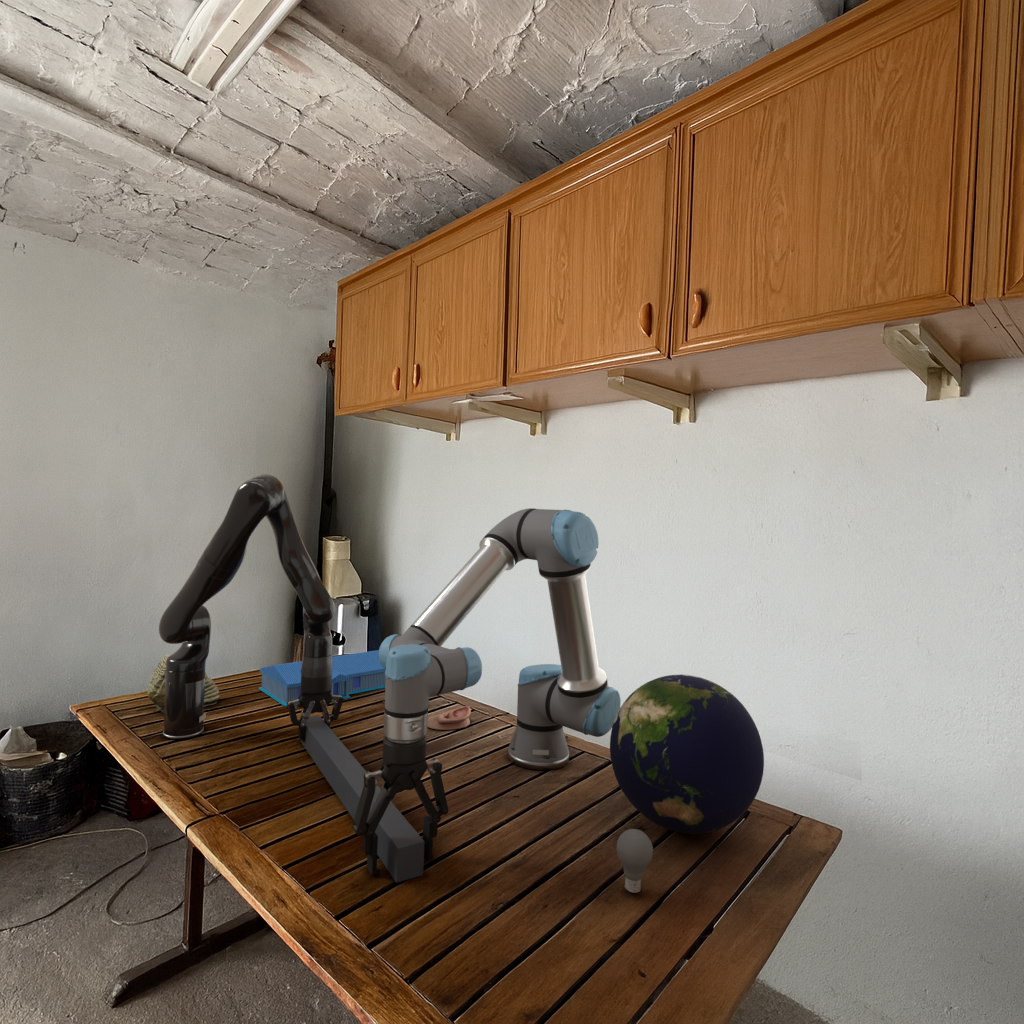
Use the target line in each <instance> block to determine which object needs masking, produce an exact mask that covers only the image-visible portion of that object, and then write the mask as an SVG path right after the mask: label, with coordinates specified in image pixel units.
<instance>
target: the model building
mask: <svg viewBox="0 0 1024 1024" xmlns="http://www.w3.org/2000/svg"><path fill="white" fill-rule="evenodd" d="M301 665H302V660H300V661H293V662H287V663H278V664H272V665H268V666H264V667H263V666H262V667H260V668H259V672H260V673H261V686H260V687H258V690H260V691H261V692H262V693H264V694H265V695H267V696H268V697H270V698H271V699H273V700H274V701H276V702H277V703H279V704H280V705H282V706H283V707H288V705H287V702H288V701H289V700H291V701H294V700H297V699H298V698H299V696H300V690H301ZM385 671H386V669H385V668H384V667H383V666H382V665H381V663H380V661H379V649H376V650H368V651H363V652H356V653H349V654H342V655H341V654H340V655H335V656H332V687H331V692H332V694H333V695H341V696H342V698H343V700H346V699H347V700H348V699H350V698H351V695H353V694H359V693H364V692H365V693H366V692H369V691H373V690H381V689H385V677H386V676H385ZM331 702H333V699H332V700H331ZM298 705H301V704H300V703H299V704H298Z"/></svg>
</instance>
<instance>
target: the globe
mask: <svg viewBox="0 0 1024 1024" xmlns="http://www.w3.org/2000/svg"><path fill="white" fill-rule="evenodd" d="M621 704H622V705H620V709H619V711H618V713H617V715H616V717H615V720H614V722H613V726H612V728H611V730H610V731H611V732H610V736H609V737H610V739H609V755H610V762H611V766H612V770H613V774H614V777H615V780H616V783H617V784H618V786H619V788H620V790H621V791H622V794H623V795H624V796H625V797H626V799H627V800H628V802H629V803H630V804H631V805H632V806H633V807H634V809H636V811H638V812H639V813H640V814H641V815H642V816H643V817H645V819H648V820H649V821H651V822H652V823H654V824H655V825H658V826H660V827H661V828H664V829H666V830H669V831H673V832H675V833H680V834H689V835H699V834H700V835H701V834H707V833H712V832H716V831H719V830H721V829H723V828H725V827H728V826H729V825H732V823H734V822H736V821H737V820H738V819H739V818H741V816H743V815H744V814H745V812H746V811H747V810H748V809H749V808H750V806H752V804H753V803H754V801H755V800H756V796H757V795H758V794H759V790H760V788H761V785H762V781H763V776H764V770H765V769H764V768H765V754H764V747H763V743H762V738H761V735H760V731H759V730H758V727H757V725H756V722H755V721H754V719H753V718H752V715H751V714H750V713H749V711H748V710H747V708H746V707H745V706H744V704H743V703H742V702H741V701H740V700H739V698H737V697H736V696H735V695H734V694H732V692H730V691H729V690H728V689H726V688H724V687H723V686H722V685H720V684H718V683H716V682H713V681H711V680H709V679H707V678H703V677H700V676H697V675H693V674H684V673H683V674H682V673H681V674H671V675H670V674H669V675H664V676H660V677H657V678H654V679H652V680H649V681H647V682H645V683H643V684H642V685H641V686H639V687H638V688H636V689H635V690H634V691H632V692H631V693H630V695H628V697H626V699H625V700H624V701H623V703H621Z"/></svg>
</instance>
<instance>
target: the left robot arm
mask: <svg viewBox="0 0 1024 1024" xmlns="http://www.w3.org/2000/svg"><path fill="white" fill-rule="evenodd" d="M292 511H293V510H292V509H291V504H290V502H289V498H288V496H287V492H286V490H285V487H284V485H283V483H282V482H281V481H280V479H278V477H276V476H274V475H272V474H267V473H265V474H259V475H256V476H254V477H252V478H250V479H248V480H245V481H244V482H243V483H241V484H240V485H239V486H238V488H237V489H236V490H235V492H234V495H233V498H232V500H231V502H230V504H229V507H228V509H227V511H226V514H225V515H224V518H223V520H222V522H221V523H220V525H219V527H218V528H217V530H216V531H215V532H214V533H213V535H212V537H211V539H210V541H209V542H208V544H207V546H205V548H204V550H203V552H202V554H201V555H200V557H199V559H198V560H197V562H196V563H195V566H194V568H193V569H192V571H191V573H190V575H188V578H187V579H186V581H185V582H184V584H183V586H182V587H181V589H180V590H179V592H178V593H177V594H176V596H175V597H174V598H173V599H172V601H171V602H170V603H169V604H168V606H167V607H166V609H165V610H164V611H163V613H162V615H161V618H160V619H159V623H158V634H159V637H160V638H161V640H162V641H163V642H165V643H166V644H170V645H179V644H181V645H180V647H179V648H178V649H177V650H176V651H174V652H173V653H172V654H169V655H170V656H169V657H168V658H167V660H166V674H165V705H164V709H163V708H162V709H161V711H160V712H161V713H162V714H163V731H162V737H164V738H166V739H169V740H185V739H190V738H191V739H192V738H194V737H197V736H199V735H202V734H203V732H204V730H205V729H204V722H205V721H204V720H205V719H206V718H207V712H205V706H204V693H205V672H206V664H207V663H206V662H207V659H208V656H209V653H210V643H211V633H212V617H211V614H210V612H209V610H208V608H207V607H206V606H205V603H207V602H209V601H210V599H212V598H214V596H216V595H217V594H219V593H220V592H221V591H222V590H223V589H225V588H226V587H227V586H229V584H230V583H231V582H232V580H233V579H234V578H235V576H236V575H237V573H238V571H239V570H240V568H241V567H242V564H243V563H244V560H245V557H246V554H247V548H248V543H249V540H250V539H251V536H252V535H253V533H254V531H256V529H257V527H258V526H259V524H260V523H261V522H262V520H263V519H265V518H266V519H267V521H268V522H269V525H270V527H271V529H272V532H273V537H274V540H275V545H276V551H277V557H278V560H279V563H280V566H281V568H282V571H283V573H284V575H285V576H286V579H287V581H288V582H289V584H290V586H291V587H292V589H293V590H294V592H295V593H296V594H297V596H298V599H299V601H300V602H301V603H300V604H301V605H302V618H303V619H302V622H303V641H302V642H303V645H302V648H303V649H302V658H301V661H302V665H301V690H300V696H299V698H298V699H297V700H294V701H291V700H289V701H288V702H287V705H288V706H287V709H288V713H289V718H290V722H291V723H292V725H293V726H294V727H298V730H297V733H298V734H297V736H298V739H299V741H300V740H301V741H302V742H304V741H305V738H306V727H305V725H306V722H307V720H308V719H309V717H310V716H311V715H312V714H316V713H320V714H321V715H322V719H323V720H324V722H325V723H326V724H327V725H328V726H329V728H330V729H331V723H332V722H333V721H338V719H339V717H340V713H341V709H342V705H343V703H344V702H343V701H344V699H343V698H342V696H341V695H333V694H332V692H331V687H332V657H333V635H332V633H331V620H332V619H333V618H334V616H335V614H336V604H335V602H334V600H333V598H332V596H331V594H330V593H329V591H328V590H327V588H326V586H325V585H324V583H323V582H322V579H321V577H320V575H319V572H318V570H317V568H316V565H315V564H314V562H313V560H312V558H311V556H310V554H309V553H308V550H307V548H306V546H305V544H304V542H303V539H302V537H301V535H300V531H299V529H298V526H297V523H296V520H295V518H294V513H293V512H292ZM332 699H333V701H331V700H332ZM331 702H332V704H333V706H332V710H331V713H330V712H329V709H328V707H329V705H330V704H331ZM299 703H300V704H299ZM299 705H300V706H301V707H302V709H301V713H300V717H299V719H298V715H297V711H296V710H298V706H299ZM301 741H300V742H301Z"/></svg>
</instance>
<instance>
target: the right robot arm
mask: <svg viewBox="0 0 1024 1024" xmlns="http://www.w3.org/2000/svg"><path fill="white" fill-rule="evenodd" d="M478 546H479V549H478V550H477V551H476V552H475V553H473V555H472V556H471V558H470V559H468V561H467V562H466V563H465V564H464V565H463V567H462V568H461V569H460V570H459V571H458V572H457V573H456V574H455V575H454V576H453V578H451V580H450V581H449V582H448V583H447V584H446V585H445V587H444V588H443V589H442V590H441V591H440V592H439V593H438V594H437V595H436V597H435V598H434V599H433V600H432V601H431V603H429V604H428V605H427V607H426V608H425V609H424V610H423V611H422V612H421V613H420V614H419V616H418V617H417V618H416V619H415V620H414V621H413V622H412V624H411V625H410V626H409V627H408V628H407V629H406V630H405V631H404V632H403V633H399V634H398V633H393V634H391V635H388V636H387V637H385V638H384V640H383V641H382V642H381V644H380V646H379V649H378V650H379V661H380V663H381V665H382V666H383V667H384V668H385V669H386V671H385V676H386V677H385V688H384V711H383V712H384V713H383V714H384V715H383V716H384V717H383V736H384V737H383V739H382V763H381V766H380V768H379V770H375V771H372V772H371V771H370V770H365V771H366V772H365V773H364V787H363V790H362V794H361V797H360V801H359V804H358V808H357V811H356V815H355V818H354V819H353V821H352V825H351V827H352V830H353V832H354V834H356V836H357V837H361V836H362V847H361V849H362V851H363V852H364V854H365V856H366V868H367V870H368V871H369V873H370V875H371V876H375V875H377V870H378V855H377V848H378V836H377V834H376V833H375V830H376V828H377V826H378V824H379V822H380V821H381V819H382V817H383V815H384V813H385V811H386V809H387V807H388V805H389V803H390V801H391V802H392V800H393V799H394V798H395V797H396V794H398V793H402V792H404V791H412V790H415V792H416V794H417V796H418V798H419V800H420V802H421V804H422V805H423V808H424V809H425V811H426V813H427V815H425V816H423V817H422V818H423V821H422V839H423V840H424V857H425V858H426V859H427V860H428V861H429V860H432V859H433V844H434V838H436V837H437V836H438V830H439V829H438V827H439V826H438V825H439V823H440V822H441V821H442V817H441V816H446V815H448V813H449V807H448V802H447V801H448V800H447V797H446V791H445V787H444V782H443V778H442V773H443V764H442V762H440V761H439V760H438V759H437V758H436V757H432V758H431V759H430V760H427V759H426V757H427V745H428V744H427V743H428V739H427V736H426V735H428V734H427V733H428V727H427V721H428V718H429V717H428V716H429V703H430V702H429V701H430V698H434V697H437V696H441V695H445V694H448V693H449V694H451V693H453V692H458V691H464V690H465V689H467V688H471V687H473V686H475V685H477V684H478V683H479V681H481V678H482V674H483V664H482V660H481V657H480V655H479V653H478V652H477V651H476V650H475V649H474V648H472V647H469V646H464V647H461V646H457V647H456V648H447V647H444V646H443V645H444V643H445V642H446V641H447V640H448V639H449V638H450V637H451V635H452V634H453V633H454V632H455V631H456V629H457V628H458V627H459V626H460V625H461V624H462V622H463V621H464V620H465V619H466V618H467V616H468V615H469V614H470V612H472V610H473V609H474V608H475V607H476V605H477V604H479V602H480V601H481V600H482V598H483V597H484V596H485V595H486V594H487V592H488V591H489V590H490V589H491V588H492V587H493V586H494V584H495V583H496V581H498V579H499V578H500V577H501V576H502V575H503V573H504V572H505V571H510V570H513V568H515V566H516V565H517V564H518V563H519V562H521V561H524V560H532V561H536V562H537V568H538V573H539V575H540V576H541V578H544V579H545V580H547V586H548V592H549V593H548V594H549V599H550V606H551V611H552V618H553V624H554V629H555V630H554V631H555V636H556V642H557V643H556V644H557V649H558V655H559V661H560V664H557V663H556V664H555V663H554V664H553V663H542V664H541V663H539V664H532V665H528V666H525V667H523V668H522V669H521V670H520V671H519V674H518V683H517V702H516V703H517V707H516V726H515V729H514V731H513V734H512V737H511V740H510V743H509V745H508V750H507V758H508V760H509V761H510V762H511V763H512V764H514V765H516V766H518V767H521V768H525V769H529V770H536V771H549V770H555V769H560V768H562V767H565V766H566V765H567V764H568V763H569V761H570V750H569V746H568V743H567V739H569V737H568V735H565V732H564V728H567V729H570V730H573V731H575V732H578V733H581V734H582V735H585V736H588V735H589V736H592V737H596V738H600V737H603V736H605V735H607V734H608V733H609V732H610V731H612V726H613V722H614V720H615V717H616V715H617V713H618V711H619V709H620V707H621V704H622V701H621V700H622V699H621V695H620V692H619V691H618V690H617V689H616V688H615V687H612V686H609V684H608V677H607V673H606V671H605V670H604V669H603V668H601V667H599V666H600V665H599V659H598V653H597V646H596V640H595V639H596V638H595V633H594V624H593V618H592V612H591V605H590V598H589V591H588V590H589V589H588V584H587V578H586V576H587V575H586V574H587V573H588V572H589V571H590V569H591V567H592V562H593V561H595V559H596V557H597V555H598V550H597V549H598V548H599V534H598V530H597V527H596V525H595V523H594V522H593V520H592V519H591V518H590V517H589V516H587V515H586V514H585V513H583V512H581V511H575V510H574V511H573V510H571V509H547V508H545V509H544V508H531V507H530V508H529V507H528V508H523V509H519V510H518V511H515V512H513V513H510V515H508V516H506V517H505V518H502V520H501V521H500V522H498V523H497V524H496V525H494V526H493V527H492V528H491V529H490V530H489V531H488V532H487V533H486V534H485V535H484V536H483V538H481V539H480V541H479V545H478ZM426 771H427V772H428V773H429V778H430V782H431V786H432V791H433V795H434V801H435V805H434V803H433V801H432V799H431V797H430V795H429V794H428V792H427V789H426V787H425V785H424V783H423V781H422V778H423V776H424V775H425V773H426ZM381 779H382V780H383V782H382V785H381V787H380V789H381V791H380V794H379V795H378V797H377V799H376V801H375V803H374V805H373V807H372V809H371V811H370V808H371V804H372V801H373V797H374V794H375V786H377V785H378V786H379V781H380V780H381ZM369 811H370V813H369Z"/></svg>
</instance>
